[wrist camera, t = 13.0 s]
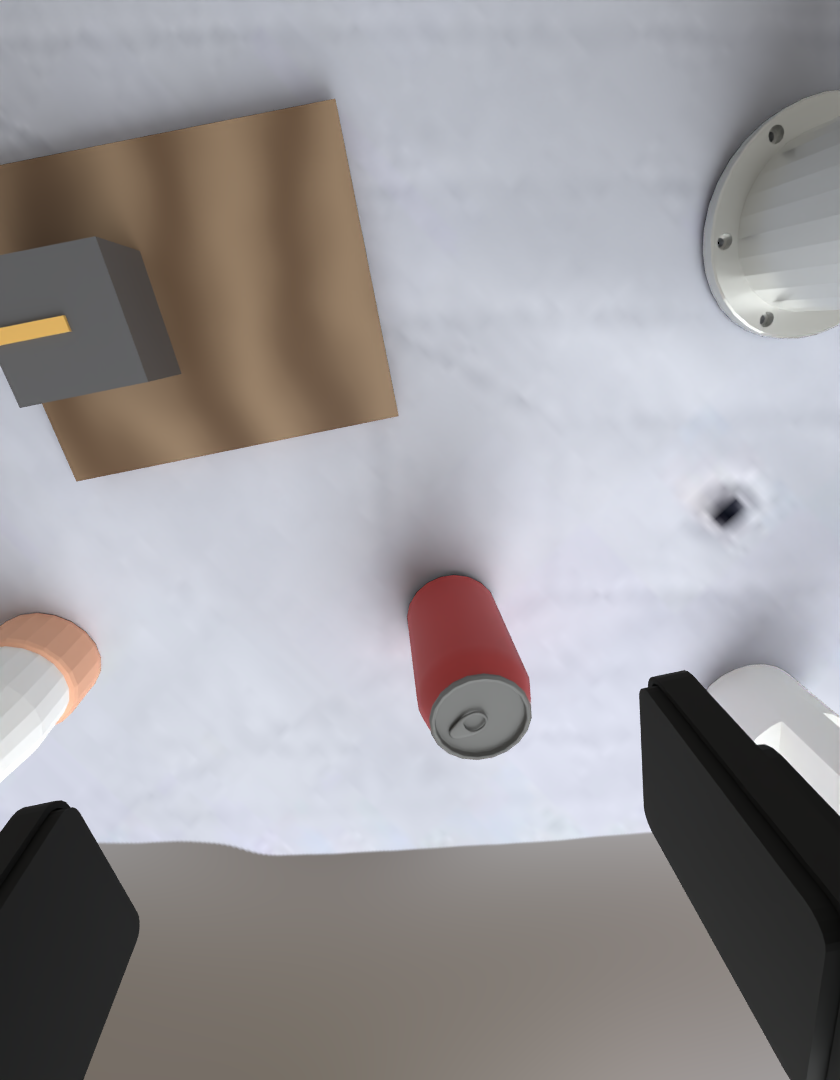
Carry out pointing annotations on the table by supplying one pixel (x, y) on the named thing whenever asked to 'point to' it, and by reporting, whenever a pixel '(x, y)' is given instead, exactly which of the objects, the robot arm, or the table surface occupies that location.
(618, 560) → the table surface
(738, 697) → the cylinder with rectangular tab
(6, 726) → the pepper shaker
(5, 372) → the grey cube with stripe
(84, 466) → the base plate
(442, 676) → the beer can
